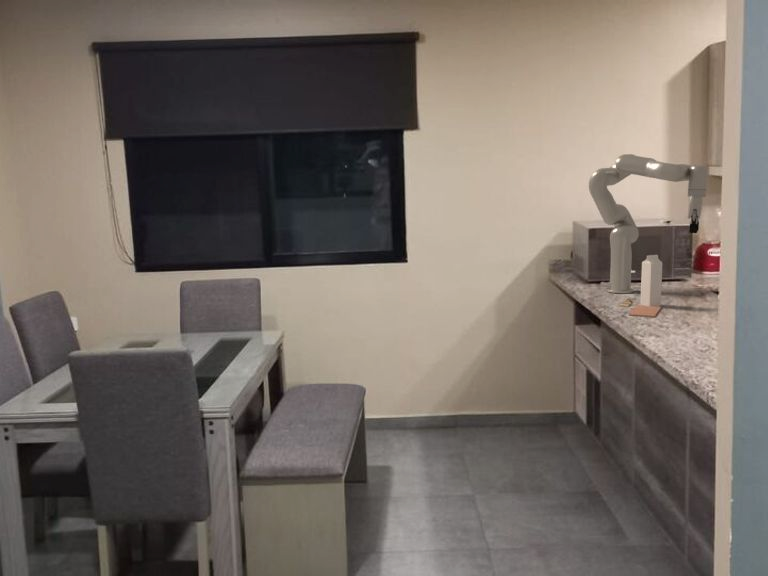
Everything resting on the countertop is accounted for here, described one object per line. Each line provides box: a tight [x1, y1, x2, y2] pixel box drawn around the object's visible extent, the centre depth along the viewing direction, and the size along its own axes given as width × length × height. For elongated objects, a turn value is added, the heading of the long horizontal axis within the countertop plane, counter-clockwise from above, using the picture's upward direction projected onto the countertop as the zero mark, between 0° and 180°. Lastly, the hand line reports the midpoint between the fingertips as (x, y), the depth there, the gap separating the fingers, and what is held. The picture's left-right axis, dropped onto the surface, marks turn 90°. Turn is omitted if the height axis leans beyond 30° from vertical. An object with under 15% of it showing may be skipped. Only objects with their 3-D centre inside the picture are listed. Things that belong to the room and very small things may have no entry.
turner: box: [618, 298, 632, 308], centre depth 332 cm, size 15×4×1 cm, turn 153°
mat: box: [628, 304, 662, 318], centre depth 314 cm, size 10×20×1 cm, turn 153°
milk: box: [639, 254, 663, 307], centre depth 325 cm, size 6×6×22 cm
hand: (693, 231), depth 337 cm, fingers open, 9 cm apart
